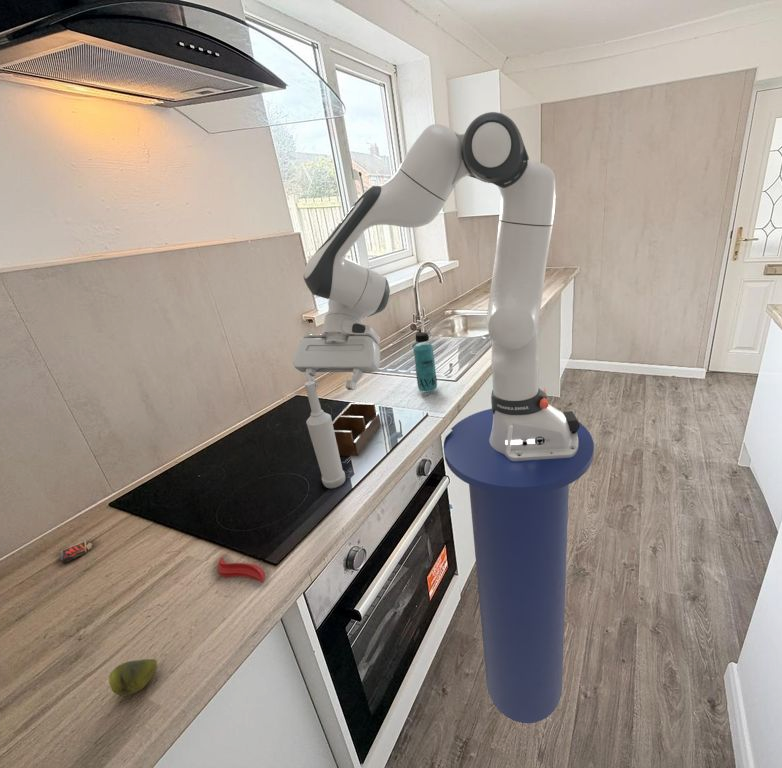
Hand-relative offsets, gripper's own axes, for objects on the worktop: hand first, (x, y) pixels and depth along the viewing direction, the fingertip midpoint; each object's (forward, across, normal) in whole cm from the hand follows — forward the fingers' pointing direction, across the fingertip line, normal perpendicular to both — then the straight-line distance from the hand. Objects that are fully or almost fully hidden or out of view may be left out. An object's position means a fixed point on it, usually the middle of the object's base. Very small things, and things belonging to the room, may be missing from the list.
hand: (330, 389), depth 93 cm
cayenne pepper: (+38, -6, -8) cm, 39 cm away
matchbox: (+37, -42, -9) cm, 57 cm away
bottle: (+19, 0, +10) cm, 22 cm away
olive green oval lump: (+51, -6, -22) cm, 56 cm away
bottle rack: (+6, -3, +22) cm, 24 cm away
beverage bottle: (-15, +9, +44) cm, 47 cm away
